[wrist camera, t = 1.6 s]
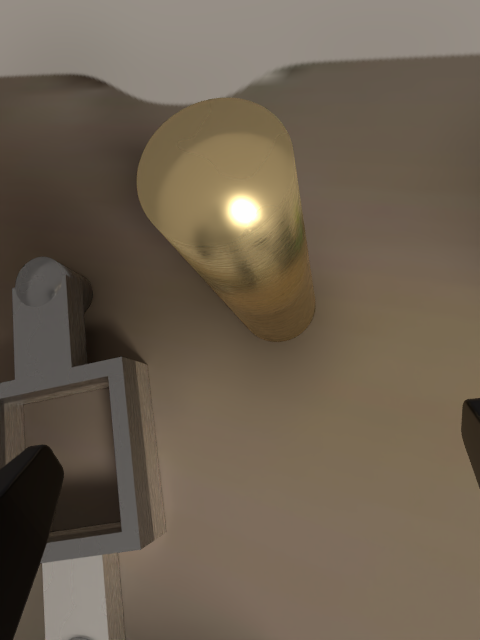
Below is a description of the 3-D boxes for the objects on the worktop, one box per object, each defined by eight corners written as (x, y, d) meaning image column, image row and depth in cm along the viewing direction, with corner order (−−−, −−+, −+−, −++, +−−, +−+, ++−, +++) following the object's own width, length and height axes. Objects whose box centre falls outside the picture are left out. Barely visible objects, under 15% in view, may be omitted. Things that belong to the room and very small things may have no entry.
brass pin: (322, 332, 22) (309, 220, 10) (247, 348, 23) (145, 261, 10) (306, 262, 23) (276, 78, 11) (235, 279, 24) (129, 123, 11)
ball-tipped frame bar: (183, 682, 20) (157, 726, 17) (18, 695, 21) (-31, 739, 18) (135, 258, 25) (110, 238, 22) (7, 291, 27) (-32, 275, 24)
